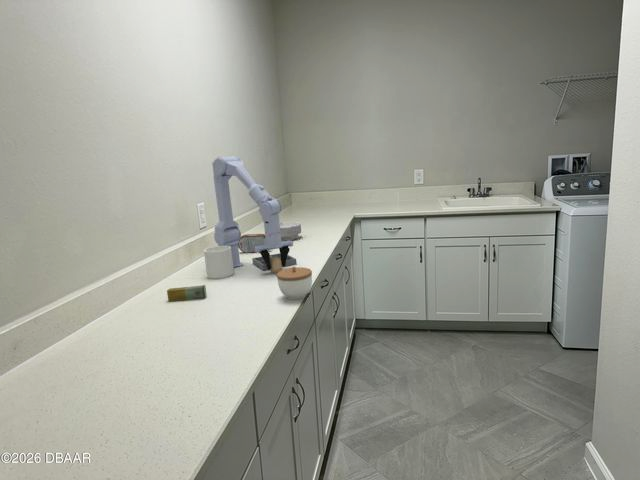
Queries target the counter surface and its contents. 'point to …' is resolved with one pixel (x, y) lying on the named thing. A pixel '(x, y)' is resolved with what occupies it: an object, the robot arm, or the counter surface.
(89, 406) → the counter surface
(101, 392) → the counter surface
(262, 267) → the grey compartment tray
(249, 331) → the counter surface
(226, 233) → the robot arm
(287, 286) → the lidded jar
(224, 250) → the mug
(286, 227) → the paper bowls
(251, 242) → the tin
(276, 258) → the egg
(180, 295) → the medication box
